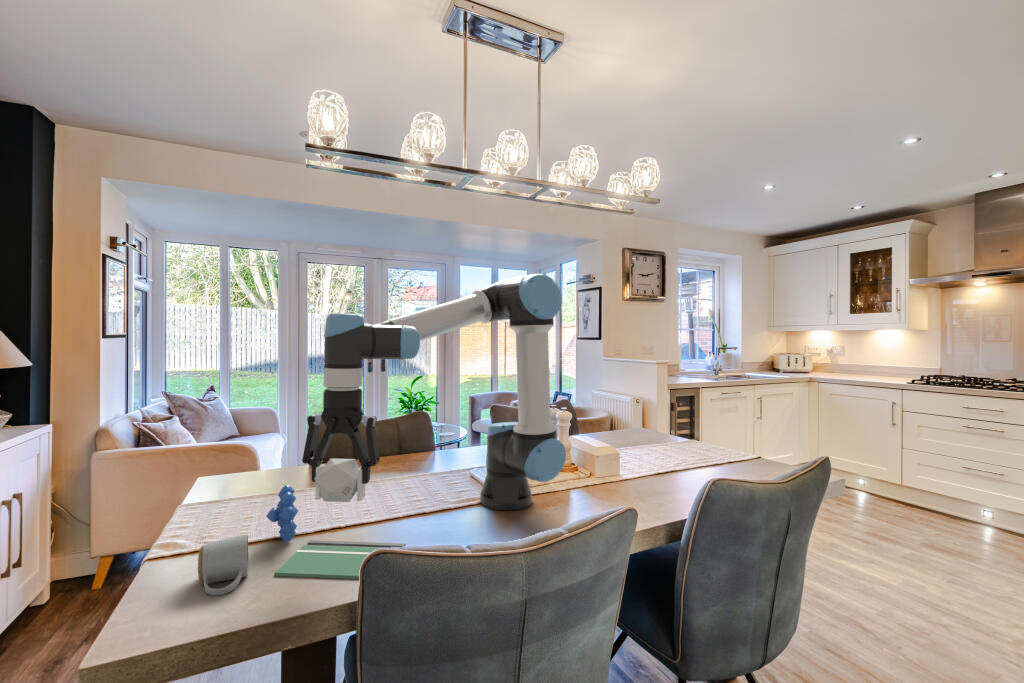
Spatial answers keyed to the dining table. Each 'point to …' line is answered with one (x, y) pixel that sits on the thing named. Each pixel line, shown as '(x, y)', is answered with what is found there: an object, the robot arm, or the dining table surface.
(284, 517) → the grapes
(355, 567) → the felt mat
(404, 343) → the robot arm
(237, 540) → the ceramic mug
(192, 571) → the dining table surface
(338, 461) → the die
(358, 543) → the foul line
